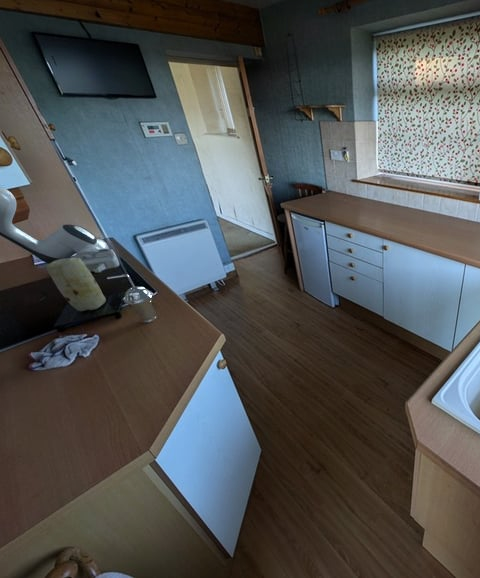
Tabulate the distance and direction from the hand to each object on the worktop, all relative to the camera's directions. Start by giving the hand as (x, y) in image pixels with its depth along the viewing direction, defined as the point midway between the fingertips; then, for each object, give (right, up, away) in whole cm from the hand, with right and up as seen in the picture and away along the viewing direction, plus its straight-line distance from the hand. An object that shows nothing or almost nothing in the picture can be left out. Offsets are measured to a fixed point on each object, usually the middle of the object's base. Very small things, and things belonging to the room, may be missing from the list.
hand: (80, 273), depth 110 cm
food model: (+3, -13, +1) cm, 13 cm away
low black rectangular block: (+3, -15, +3) cm, 16 cm away
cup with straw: (+26, -17, 0) cm, 31 cm away
